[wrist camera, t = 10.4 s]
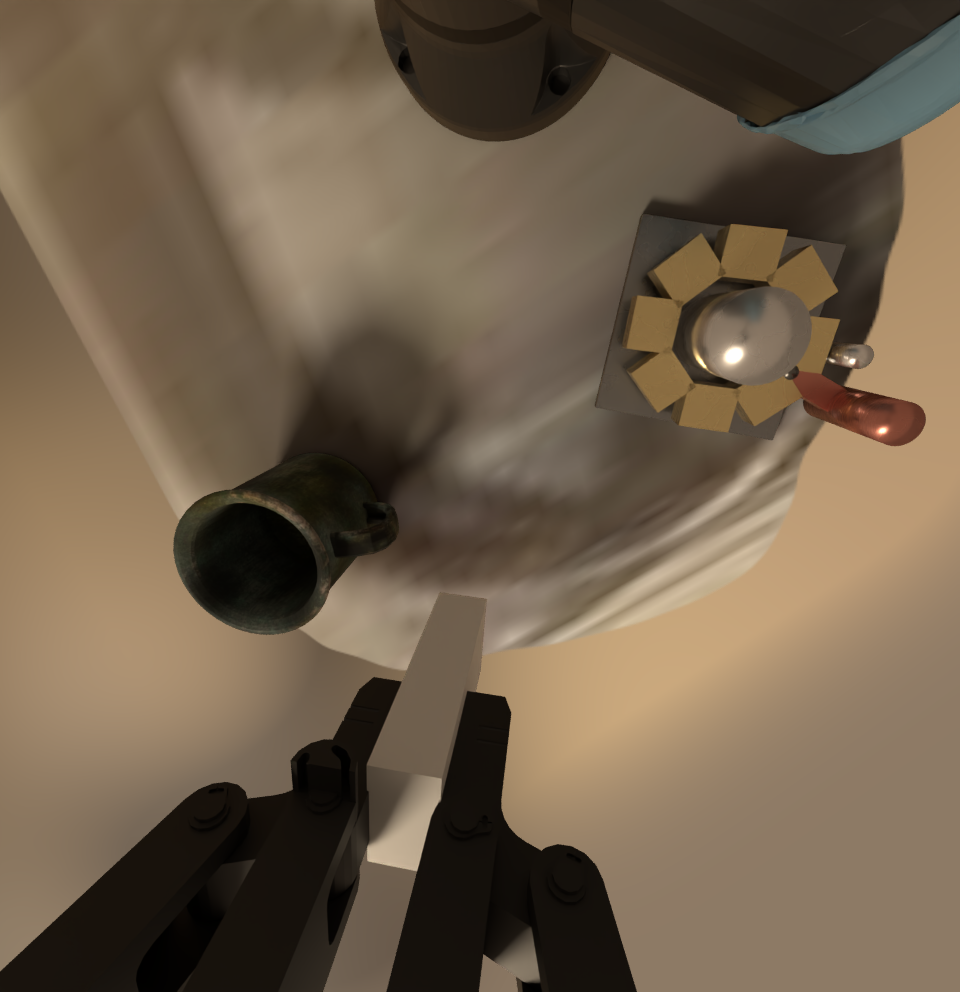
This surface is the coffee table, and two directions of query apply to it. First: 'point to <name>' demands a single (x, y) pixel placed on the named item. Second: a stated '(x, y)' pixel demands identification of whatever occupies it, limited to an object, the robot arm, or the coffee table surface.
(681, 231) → the spindle base
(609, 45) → the robot arm
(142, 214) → the coffee table surface
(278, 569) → the mug
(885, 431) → the toothed crank wheel
